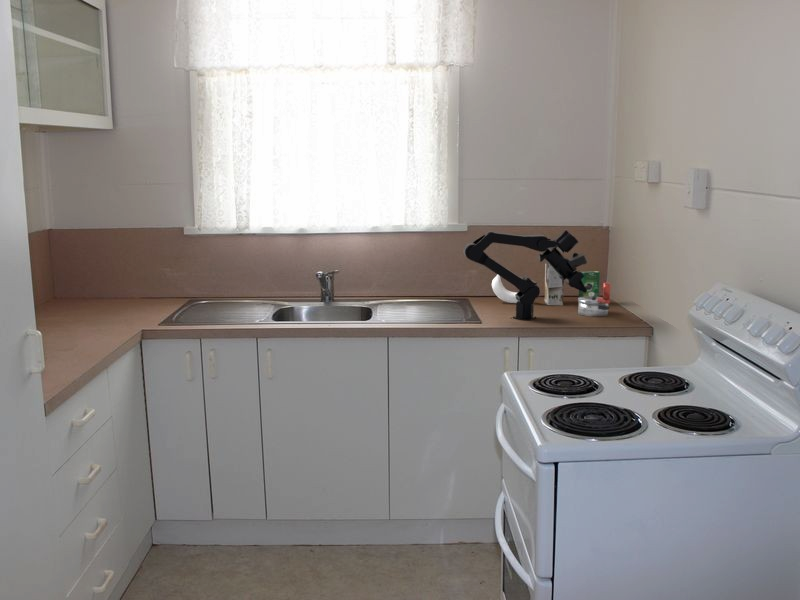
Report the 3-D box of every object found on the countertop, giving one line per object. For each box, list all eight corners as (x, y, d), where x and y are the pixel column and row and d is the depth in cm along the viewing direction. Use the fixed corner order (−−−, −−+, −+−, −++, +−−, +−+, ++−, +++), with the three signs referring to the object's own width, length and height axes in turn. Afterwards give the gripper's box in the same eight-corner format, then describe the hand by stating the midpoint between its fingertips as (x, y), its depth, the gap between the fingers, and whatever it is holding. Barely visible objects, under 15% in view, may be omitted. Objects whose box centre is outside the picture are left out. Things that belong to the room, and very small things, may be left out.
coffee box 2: (595, 302, 333) (596, 270, 331) (599, 303, 331) (600, 271, 328) (578, 303, 331) (579, 271, 328) (581, 304, 328) (583, 272, 326)
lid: (571, 299, 313) (572, 278, 311) (597, 297, 317) (598, 276, 315) (594, 306, 299) (595, 284, 297) (621, 304, 303) (622, 282, 302)
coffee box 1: (563, 305, 327) (564, 265, 324) (547, 305, 327) (548, 265, 324) (559, 301, 336) (560, 262, 332) (543, 301, 336) (545, 262, 333)
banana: (538, 304, 328) (539, 269, 325) (491, 303, 330) (492, 268, 327) (538, 302, 332) (539, 267, 330) (491, 301, 335) (492, 266, 332)
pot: (570, 311, 315) (570, 299, 314) (594, 309, 319) (594, 297, 318) (593, 319, 301) (593, 307, 300) (618, 316, 305) (618, 305, 304)
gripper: (580, 249, 289) (609, 280, 291) (568, 243, 307) (596, 272, 309) (556, 271, 290) (585, 302, 292) (546, 263, 308) (574, 293, 310)
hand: (586, 291), depth 301 cm, fingers closed
